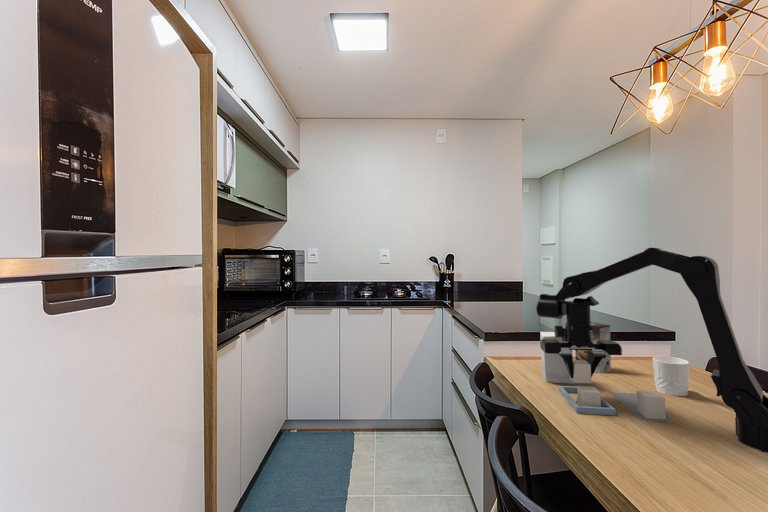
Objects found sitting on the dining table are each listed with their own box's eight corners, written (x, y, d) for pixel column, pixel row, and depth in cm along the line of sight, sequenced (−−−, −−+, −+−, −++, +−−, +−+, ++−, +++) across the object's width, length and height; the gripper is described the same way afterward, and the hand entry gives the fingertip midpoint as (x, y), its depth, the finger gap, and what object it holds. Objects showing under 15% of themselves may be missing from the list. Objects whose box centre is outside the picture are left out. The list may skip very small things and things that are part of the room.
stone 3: (665, 419, 80) (665, 397, 80) (646, 418, 81) (645, 396, 81) (655, 411, 84) (655, 391, 84) (637, 410, 85) (636, 390, 85)
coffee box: (574, 367, 123) (573, 322, 124) (586, 364, 126) (585, 320, 126) (600, 374, 115) (598, 326, 115) (612, 371, 118) (610, 324, 118)
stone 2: (601, 412, 86) (600, 392, 86) (583, 411, 87) (582, 391, 87) (594, 406, 90) (594, 386, 90) (577, 405, 91) (577, 386, 91)
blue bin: (615, 420, 83) (615, 409, 83) (576, 417, 85) (576, 407, 85) (591, 396, 97) (591, 387, 97) (558, 394, 99) (558, 385, 99)
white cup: (697, 402, 92) (696, 364, 92) (663, 400, 94) (662, 363, 94) (678, 391, 100) (677, 356, 100) (647, 389, 101) (646, 355, 102)
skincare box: (569, 380, 110) (568, 331, 110) (575, 388, 104) (573, 336, 104) (541, 378, 112) (539, 330, 113) (544, 386, 106) (543, 335, 106)
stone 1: (591, 383, 92) (590, 364, 92) (574, 382, 92) (574, 364, 93) (585, 378, 96) (584, 360, 96) (569, 377, 96) (569, 359, 96)
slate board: (676, 427, 79) (675, 421, 79) (641, 424, 80) (641, 419, 80) (637, 397, 96) (636, 393, 96) (609, 396, 97) (608, 392, 97)
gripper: (603, 316, 100) (605, 370, 100) (535, 315, 104) (536, 368, 104) (622, 323, 89) (624, 384, 89) (544, 322, 93) (546, 380, 93)
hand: (580, 378), depth 94 cm, fingers closed on stone 1, 4 cm apart
